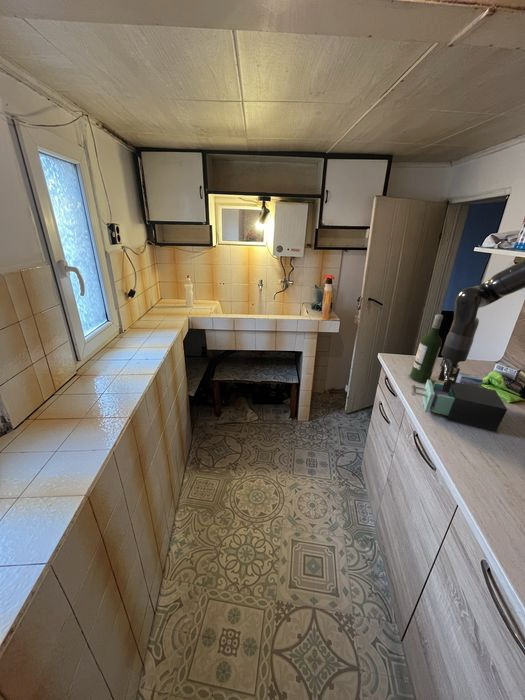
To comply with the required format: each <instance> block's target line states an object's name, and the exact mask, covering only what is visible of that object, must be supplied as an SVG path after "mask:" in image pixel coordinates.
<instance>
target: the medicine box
mask: <svg viewBox="0 0 525 700" xmlns="http://www.w3.org/2000/svg"><path fill="white" fill-rule="evenodd" d="M456 382H457V383H462V384H467V385H472V386H477V387H481V388H482V385H483V383H484V379H483V378H482V377H481V376H480V375H479V374H478V375H477V374H473V373H472V374H471V373H465V372H460V371H459V374H458V377H457V380H456Z"/></svg>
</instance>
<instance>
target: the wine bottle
mask: <svg viewBox="0 0 525 700" xmlns="http://www.w3.org/2000/svg"><path fill="white" fill-rule="evenodd" d="M443 319H444V315H443V314H440V313H437V314H435V316H434V319H433V323H432V325H431V328H430V331H429V332H428V333H426V334H424V335H423V336H422V337H421V338H420V341H419V345H418V348H417V351H416V355H415V358H414V362H413V364H412V367H411V372H410V375H409V376H410V378H411V380H413V381H415V382H417V383H423V384H426V383H427V380H431V377H432V375H433V372H434V369H435V365H436V363H437V359H438V356H439V354H440V350H441V348H442V344H443V340H442V338H441V336H440V335H439V333H440V328H441V325H442V321H443Z"/></svg>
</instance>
